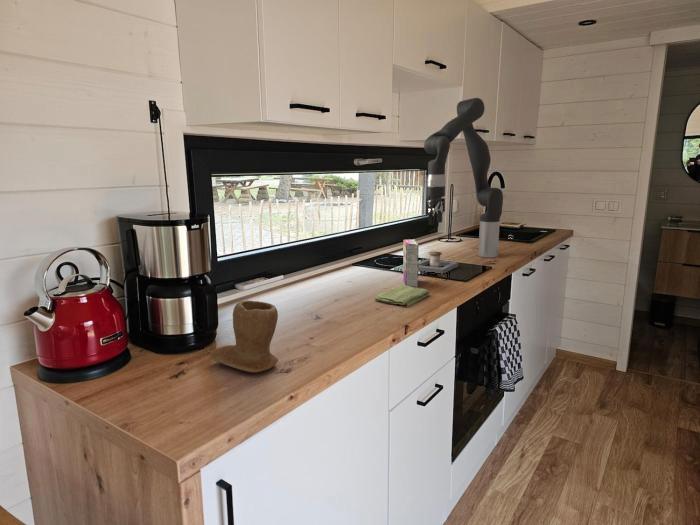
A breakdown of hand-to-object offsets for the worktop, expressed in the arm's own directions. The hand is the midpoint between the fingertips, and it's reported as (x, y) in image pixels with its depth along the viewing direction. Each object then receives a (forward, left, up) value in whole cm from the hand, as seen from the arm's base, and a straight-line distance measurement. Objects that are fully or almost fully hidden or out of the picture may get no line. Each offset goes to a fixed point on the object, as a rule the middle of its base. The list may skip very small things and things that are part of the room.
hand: (435, 223), depth 205 cm
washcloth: (+49, +10, -21) cm, 54 cm away
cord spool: (-1, 0, -20) cm, 20 cm away
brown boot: (+116, +5, -20) cm, 118 cm away
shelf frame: (0, 0, -20) cm, 20 cm away
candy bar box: (+29, +3, -20) cm, 35 cm away
